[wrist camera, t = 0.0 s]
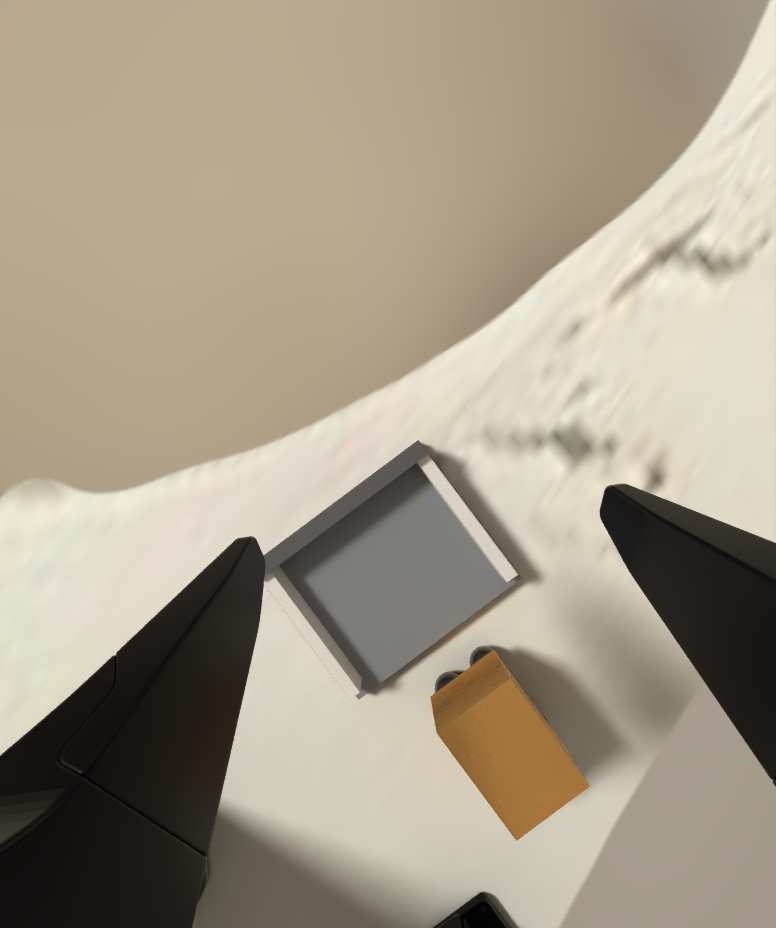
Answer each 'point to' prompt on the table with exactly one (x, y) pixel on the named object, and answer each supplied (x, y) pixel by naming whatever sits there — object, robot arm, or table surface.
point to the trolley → (504, 743)
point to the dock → (386, 572)
